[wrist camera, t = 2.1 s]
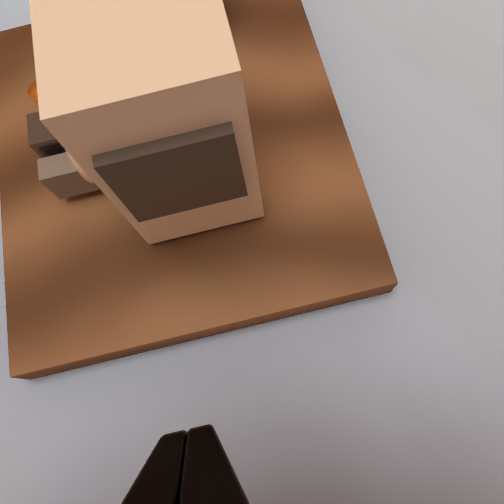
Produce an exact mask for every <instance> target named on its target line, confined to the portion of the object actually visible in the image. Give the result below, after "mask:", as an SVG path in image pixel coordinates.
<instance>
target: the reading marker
mask: <svg viewBox="0 0 504 504" xmlns="http://www.w3.org/2000/svg"><path fill="white" fill-rule="evenodd" d="M27 93H28V95H29V96H30V97H31V99H32V100H33V101H34V102H35V103H36V104H37V106H38V94H37V83H36V81H34V82H32V83H31V84H30V85H29V87H28V89H27ZM38 107H39V106H38ZM26 117H27V130H28V143H29V146H30V147H31V148H32V149H33V150H34V151H35V152H36V153H37V154H38V155H39V156H40V157H41V158H44V157H48V156H52V155H56V154H61V153H65V152H66V150H65V148H64V147H63V146H62V145H61V144H60V143H59V142H58V141H57V139H56V138H55V137H54V136H53V135H52V134H51V133H50V131H49V130H48V129H47V128H46V127H45V126H44V125H43V123H42V122H41V121H40V117H39V111H38V112H34V113H30V114H26Z"/></svg>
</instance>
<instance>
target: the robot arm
mask: <svg viewBox="0 0 504 504" xmlns="http://www.w3.org/2000/svg"><path fill="white" fill-rule="evenodd" d="M121 504H249V501H248V499H247V497H246V495H245V493H244V491H243V489H242V487H241V485H240V482H239V480H238V478H237V476H236V474H235V472H234V470H233V468H232V465H231V463H230V461H229V459H228V457H227V455H226V453H225V451H224V448H223V446H222V444H221V442H220V440H219V438H218V436H217V434H216V431H215V429H214V427H213V426H212V425H210V424H208V425H204V426H199V427H195V428H191V429H190V430H189V431H188V432H187V431H184V430H182V431H178V432H174V433H169V434H165V435H163V436H162V437H161V438H160V440H159V441H158V443H157V445H156V446H155V448H154V450H153V451H152V453H151V455H150V456H149V458H148V460H147V461H146V463H145V465H144V466H143V468H142V470H141V471H140V473H139V475H138V476H137V478H136V480H135V482H134V483H133V485H132V487H131V488H130V490H129V492H128V493H127V495H126V497H125V498H124V500H123V502H122V503H121Z"/></svg>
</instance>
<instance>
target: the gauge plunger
mask: <svg viewBox="0 0 504 504" xmlns="http://www.w3.org/2000/svg"><path fill="white" fill-rule="evenodd" d="M29 5H30V16H31V28H32V39H33V50H34V61H35V72H36V83H37V94H38V106H39V117H40V121H41V122H42V123H43V125H44V126H45V127H46V128H47V129H48V130H49V131H50V133H51V134H52V135H53V136H54V137H55V138H56V139H57V141H58V142H59V143H60V144H61V145H62V146H63V147H64V148H65V150H66V152H65V153H61V154H56V155H52V156H48V157H44V158H40V159H37V165H38V177H39V181H40V182H41V183H42V184H43V185H44V186H45V187H47V188H48V189H49V190H50V191H51V192H52V193H53V194H54V195H55V196H57V197H58V198H59V199H64V198H68V197H72V196H76V195H80V194H84V193H88V192H92V191H96V190H100V189H101V191H102V192H103V193H104V194H105V195H106V196H107V197H108V199H109V200H110V201H111V202H112V203H113V204H114V205H115V207H116V208H117V209H118V210H119V211H120V212H121V213H122V214H123V216H124V217H125V218H126V219H127V220H128V221H129V222H130V224H131V225H132V226H133V227H134V228H135V229H136V230H137V232H138V233H139V234H140V235H141V236H142V237H143V238H144V239H145V241H146V242H147V243H148V244H153V243H157V242H161V241H165V240H169V239H173V238H178V237H182V236H186V235H190V234H194V233H198V232H202V231H206V230H210V229H214V228H218V227H222V226H226V225H231V224H235V223H239V222H243V221H247V220H251V219H255V218H259V217H263V216H264V210H263V203H262V197H261V191H260V185H259V178H258V172H257V166H256V160H255V153H254V147H253V141H252V134H251V128H250V122H249V116H248V109H247V103H246V97H245V90H244V84H243V78H242V72H241V67H240V64H239V60H238V56H237V53H236V49H235V45H234V42H233V38H232V34H231V30H230V27H229V23H228V19H227V16H226V12H225V8H224V4H223V1H222V0H29Z"/></svg>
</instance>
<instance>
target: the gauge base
mask: <svg viewBox="0 0 504 504" xmlns="http://www.w3.org/2000/svg"><path fill="white" fill-rule="evenodd" d="M222 1H223V4H224V8H225V12H226V16H227V19H228V23H229V27H230V30H231V34H232V38H233V42H234V45H235V49H236V53H237V56H238V60H239V64H240V67H241V72H242V78H243V84H244V90H245V97H246V103H247V109H248V116H249V122H250V128H251V134H252V141H253V147H254V153H255V160H256V166H257V172H258V178H259V185H260V191H261V197H262V203H263V210H264V216H263V217H259V218H255V219H251V220H247V221H243V222H239V223H235V224H231V225H226V226H222V227H218V228H214V229H210V230H206V231H202V232H198V233H194V234H190V235H186V236H182V237H178V238H173V239H169V240H165V241H161V242H157V243H153V244H148V243H147V242H146V241H145V239H144V238H143V237H142V236H141V235H140V234H139V233H138V232H137V230H136V229H135V228H134V227H133V226H132V225H131V224H130V222H129V221H128V220H127V219H126V218H125V217H124V216H123V214H122V213H121V212H120V211H119V210H118V209H117V208H116V207H115V205H114V204H113V203H112V202H111V201H110V200H109V199H108V197H107V196H106V195H105V194H104V193H103V192H102V191H101V189H100V190H96V191H92V192H88V193H84V194H80V195H76V196H72V197H68V198H64V199H59V198H58V197H57V196H55V195H54V194H53V193H52V192H51V191H50V190H49V189H48V188H47V187H45V186H44V185H43V184H42V183H41V182H40V181H39V177H38V165H37V159H40V158H41V157H40V156H39V155H38V154H37V153H36V152H35V151H34V150H33V149H32V148H31V147H30V146H29V143H28V130H27V117H26V114H30V113H34V112H38V111H39V107H38V106H37V104H36V103H35V102H34V101H33V100H32V99H31V97H30V96H29V95H28V93H27V89H28V87H29V85H30V84H31V83H32V82H34V81H36V72H35V61H34V50H33V39H32V28H31V24H29V25H25V26H21V27H17V28H13V29H9V30H5V31H1V32H0V200H1V218H2V237H3V256H4V275H5V294H6V312H7V331H8V350H9V369H10V377H12V378H21V379H29V380H30V379H34V378H38V377H42V376H46V375H51V374H55V373H59V372H63V371H67V370H71V369H75V368H79V367H83V366H88V365H92V364H96V363H100V362H104V361H108V360H112V359H116V358H120V357H125V356H129V355H133V354H137V353H141V352H145V351H149V350H153V349H157V348H162V347H166V346H170V345H174V344H178V343H182V342H186V341H190V340H194V339H199V338H203V337H207V336H211V335H215V334H219V333H223V332H227V331H231V330H236V329H240V328H244V327H248V326H252V325H256V324H260V323H264V322H268V321H273V320H277V319H281V318H285V317H289V316H293V315H297V314H301V313H306V312H310V311H314V310H318V309H322V308H326V307H330V306H334V305H338V304H343V303H347V302H351V301H355V300H359V299H363V298H367V297H371V296H375V295H380V294H384V293H388V292H391V291H392V290H393V288H394V287H395V286H396V285H397V283H398V282H397V279H396V276H395V273H394V270H393V267H392V264H391V261H390V258H389V255H388V252H387V250H386V247H385V244H384V241H383V238H382V235H381V232H380V229H379V226H378V223H377V220H376V217H375V215H374V212H373V209H372V206H371V203H370V200H369V197H368V194H367V191H366V188H365V185H364V183H363V180H362V177H361V174H360V171H359V168H358V165H357V162H356V159H355V156H354V153H353V151H352V148H351V145H350V142H349V139H348V136H347V133H346V130H345V127H344V124H343V121H342V119H341V116H340V113H339V110H338V107H337V104H336V101H335V98H334V95H333V92H332V89H331V86H330V84H329V81H328V78H327V75H326V72H325V69H324V66H323V63H322V60H321V57H320V54H319V52H318V49H317V46H316V43H315V40H314V37H313V34H312V31H311V28H310V25H309V22H308V20H307V17H306V14H305V11H304V8H303V5H302V2H301V0H222Z"/></svg>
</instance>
